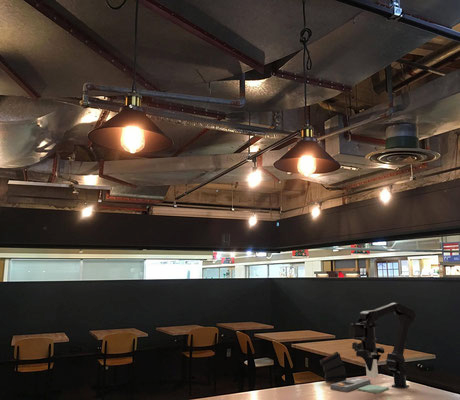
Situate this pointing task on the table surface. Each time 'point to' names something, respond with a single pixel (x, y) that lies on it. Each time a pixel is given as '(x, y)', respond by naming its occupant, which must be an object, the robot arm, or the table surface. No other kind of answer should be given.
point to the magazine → (333, 368)
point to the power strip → (350, 384)
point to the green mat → (373, 388)
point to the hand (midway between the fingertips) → (371, 370)
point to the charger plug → (372, 370)
